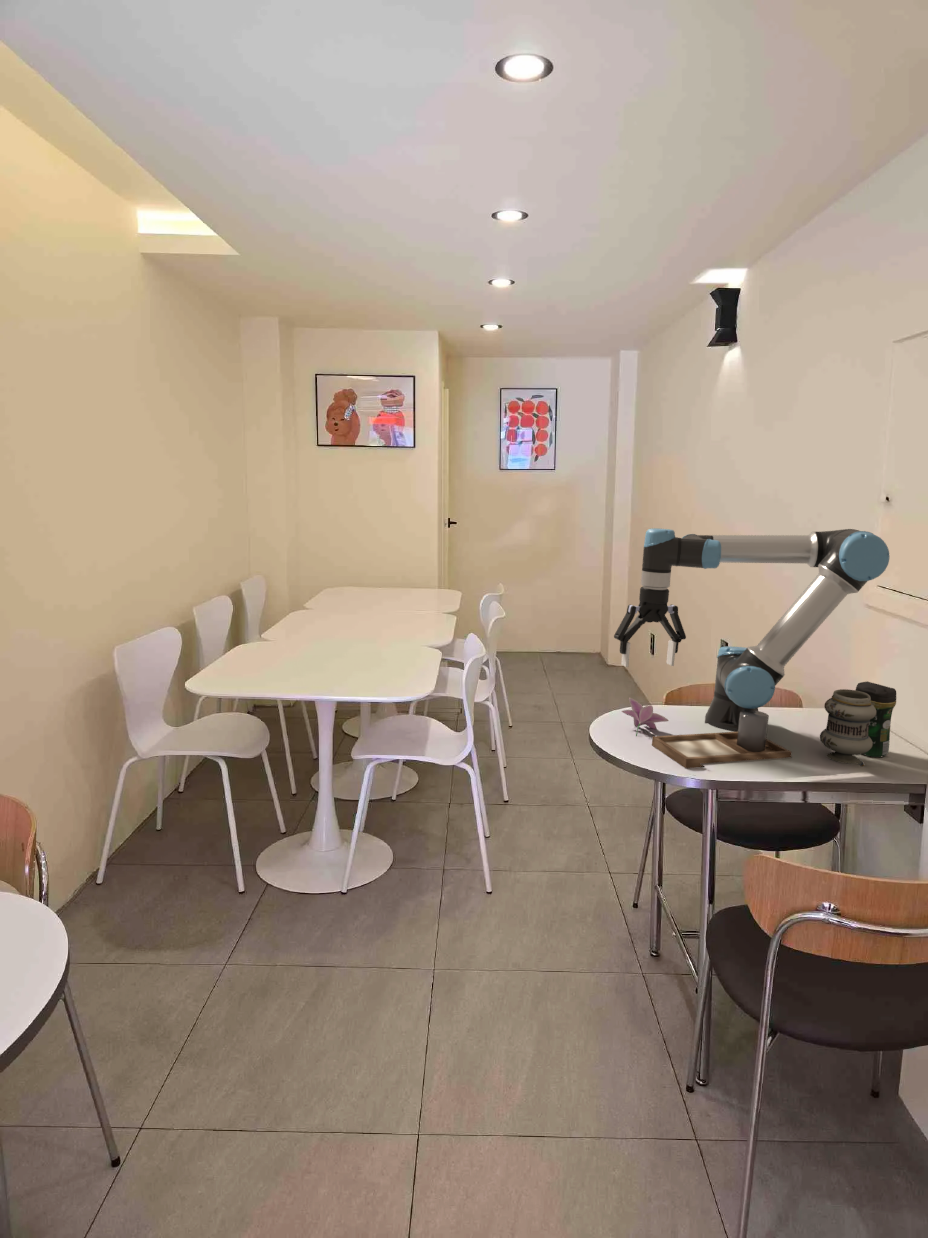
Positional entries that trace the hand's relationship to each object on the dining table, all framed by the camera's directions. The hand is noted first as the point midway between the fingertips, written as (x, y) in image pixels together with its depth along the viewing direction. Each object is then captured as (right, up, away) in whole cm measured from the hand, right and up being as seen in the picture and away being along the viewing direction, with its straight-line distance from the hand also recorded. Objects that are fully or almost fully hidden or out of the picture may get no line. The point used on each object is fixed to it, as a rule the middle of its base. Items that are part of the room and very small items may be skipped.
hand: (647, 665), depth 215 cm
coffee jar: (+57, -23, -5) cm, 61 cm away
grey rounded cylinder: (+25, -21, -8) cm, 33 cm away
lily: (-1, -19, +4) cm, 19 cm away
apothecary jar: (+47, -24, -13) cm, 54 cm away
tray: (+16, -22, -10) cm, 29 cm away
